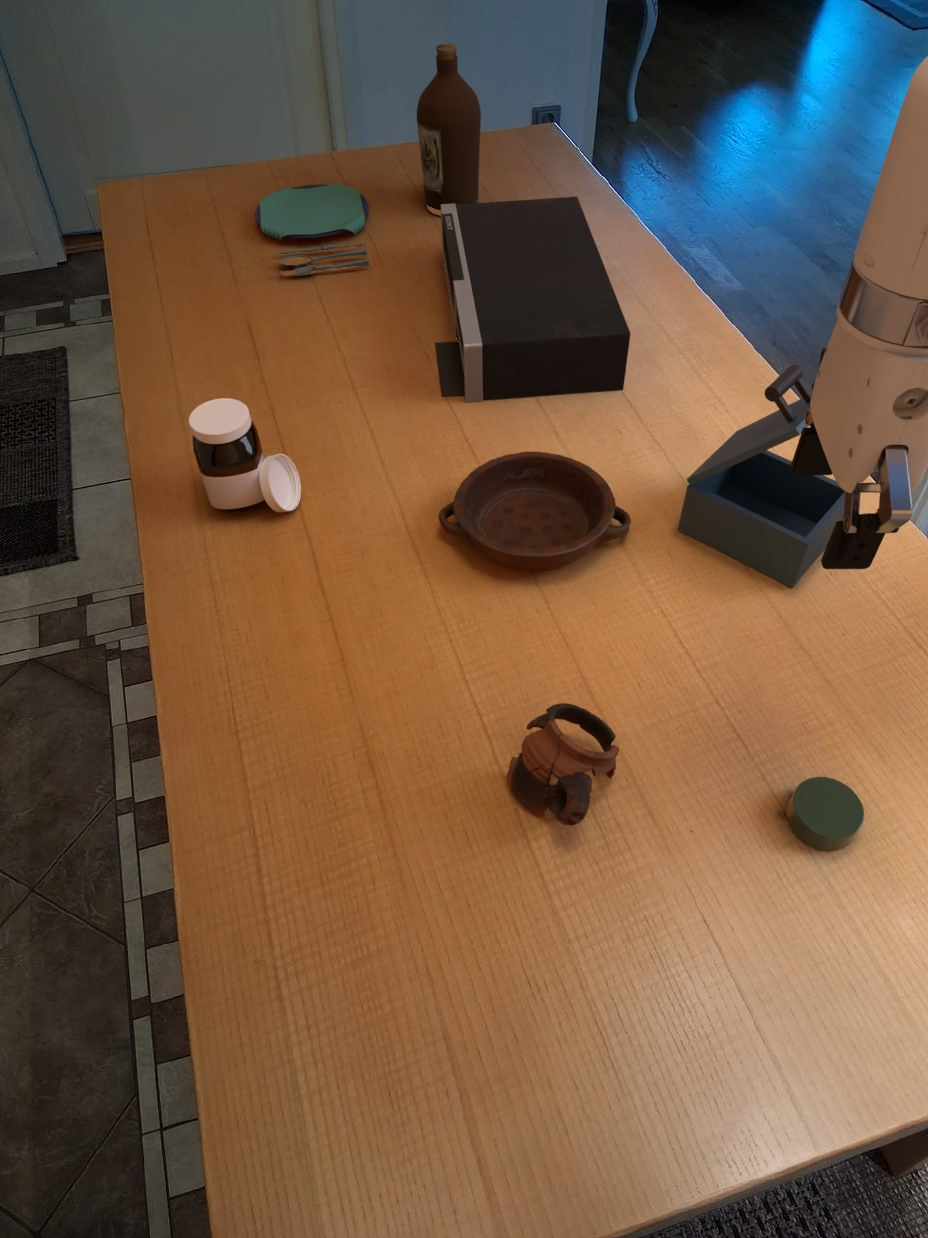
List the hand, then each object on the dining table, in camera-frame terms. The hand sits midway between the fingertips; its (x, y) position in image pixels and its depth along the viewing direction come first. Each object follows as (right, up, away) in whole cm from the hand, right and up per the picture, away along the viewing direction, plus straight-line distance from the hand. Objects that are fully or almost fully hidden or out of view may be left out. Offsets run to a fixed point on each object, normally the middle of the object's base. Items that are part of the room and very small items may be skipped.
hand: (826, 517), depth 64 cm
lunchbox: (+8, +3, +40) cm, 41 cm away
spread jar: (-52, +8, +46) cm, 70 cm away
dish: (-18, +3, +41) cm, 45 cm away
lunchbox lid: (+6, +12, +31) cm, 34 cm away
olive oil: (-28, +66, +95) cm, 119 cm away
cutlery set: (-52, +59, +90) cm, 119 cm away
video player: (-18, +38, +71) cm, 83 cm away
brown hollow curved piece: (-17, -23, +19) cm, 34 cm away
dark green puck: (+6, -25, +16) cm, 31 cm away
